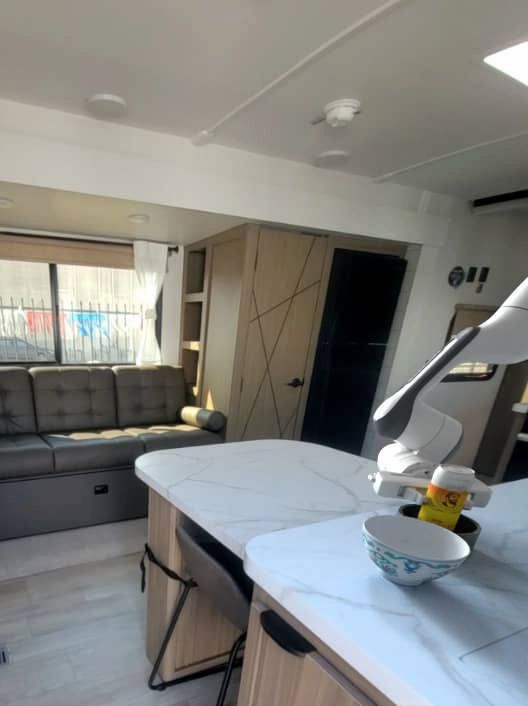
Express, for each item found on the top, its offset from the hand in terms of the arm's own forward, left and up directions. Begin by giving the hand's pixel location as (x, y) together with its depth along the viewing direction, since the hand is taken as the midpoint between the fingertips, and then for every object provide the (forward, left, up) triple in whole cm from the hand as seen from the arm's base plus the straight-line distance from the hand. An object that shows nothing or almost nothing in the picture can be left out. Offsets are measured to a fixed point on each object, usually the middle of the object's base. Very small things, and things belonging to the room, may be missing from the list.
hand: (446, 504), depth 75 cm
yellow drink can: (0, -1, -9) cm, 9 cm away
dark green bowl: (0, -1, -9) cm, 9 cm away
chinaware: (+11, +12, -9) cm, 19 cm away
